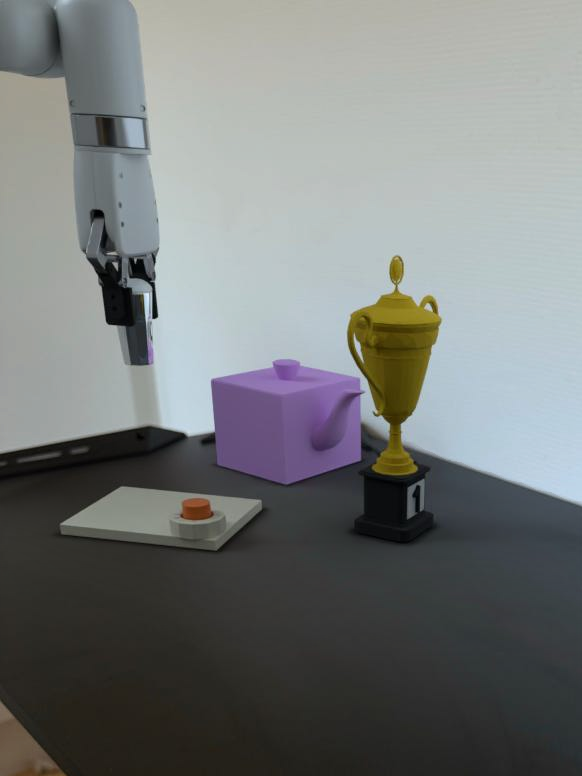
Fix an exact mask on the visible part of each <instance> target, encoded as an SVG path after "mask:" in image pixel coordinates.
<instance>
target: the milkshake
mask: <svg viewBox="0 0 582 776" xmlns="http://www.w3.org/2000/svg"><path fill="white" fill-rule="evenodd" d="M127 287H132V293H133V302H134V311H135V319H136V324H135V326H132V327H129V326H116V328H117V333H118V334H117V335H118V339H119V345H120V350H121V354H122V360H123V363H124V365H127V366H131V367H133V366H134V367H142V366H151V365H152V364H154V335H153V333H154V332H153V319H152V287H151V285H150V284H148V283H147V282H146V281H144V280H142V279H136V278H133V279H130V278H128V285H127Z"/></svg>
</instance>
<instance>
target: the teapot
mask: <svg viewBox="0 0 582 776" xmlns="http://www.w3.org/2000/svg"><path fill="white" fill-rule="evenodd" d="M271 364H272V367H266V368H261V369H255V370H251V371H245V372H240V373H233V374H230V375H224V376H218V377H214V378H211V380H210V386H211V401H212V412H213V425H214V435H215V436H214V437H215V449H216V461H217V466H220V467H223V468H227V469H231V470H234V471H237V472H240V473H243V474H248V475H251V476H255V477H257V478H261V479H264V480H268V481H271V482H275V483H278V484H282V485H285V486H288V485H290V484H293V483H297V482H300V481H302V480H305V479H309V478H311V477H314V476H317V475H320V474H323V473H327V472H330V471H333V470H337V469H339V468H343V467H345V466H349V465H351V464H355V463H357V462H360V461H362V423H361V421H362V419H361V418H362V417H361V415H362V414H361V413H362V412H361V407H362V406H361V404H362V403H361V395H363V394H365V393H366V390H364V389H361V379H360V377H358V376H352V375H347V374H343V373H338V372H333V371H330V370H329V371H328V370H323V369H319V368H315V367H310V366H304V365H301V361H298V360H296V359H291V358H281V359H276V360H273V361H272V362H271Z"/></svg>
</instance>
